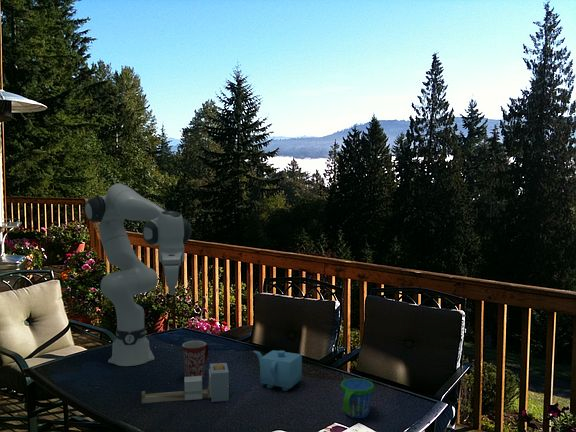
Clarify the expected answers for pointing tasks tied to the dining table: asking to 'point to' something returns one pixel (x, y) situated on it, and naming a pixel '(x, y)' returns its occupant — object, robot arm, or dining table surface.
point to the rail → (169, 396)
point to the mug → (195, 358)
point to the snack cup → (357, 397)
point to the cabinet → (219, 383)
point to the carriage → (193, 387)
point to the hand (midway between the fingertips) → (172, 294)
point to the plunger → (219, 367)
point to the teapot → (280, 369)
